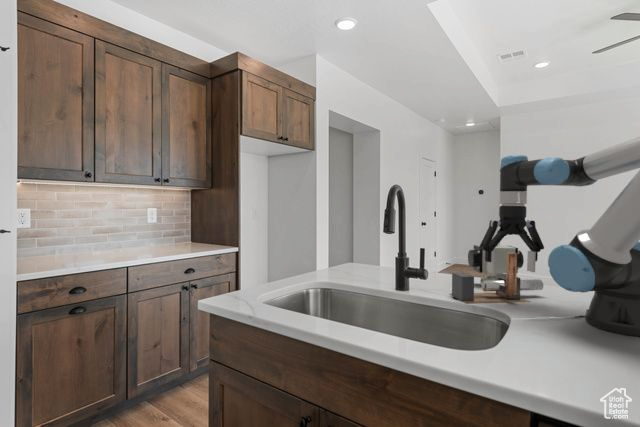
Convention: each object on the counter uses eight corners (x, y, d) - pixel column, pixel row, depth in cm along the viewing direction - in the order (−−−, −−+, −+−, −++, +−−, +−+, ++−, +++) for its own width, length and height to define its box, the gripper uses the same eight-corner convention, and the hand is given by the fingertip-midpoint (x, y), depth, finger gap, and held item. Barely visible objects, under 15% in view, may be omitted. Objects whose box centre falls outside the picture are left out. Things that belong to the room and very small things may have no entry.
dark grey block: (473, 301, 113) (474, 276, 112) (462, 301, 112) (462, 276, 112) (463, 295, 120) (463, 272, 119) (451, 295, 119) (452, 272, 119)
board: (530, 304, 112) (531, 301, 112) (465, 306, 110) (465, 303, 110) (507, 294, 124) (507, 292, 124) (448, 295, 122) (448, 293, 122)
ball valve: (513, 285, 137) (513, 241, 137) (523, 291, 129) (524, 243, 128) (466, 284, 139) (466, 240, 138) (473, 289, 131) (474, 242, 130)
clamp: (520, 299, 114) (520, 278, 114) (508, 300, 114) (508, 278, 114) (506, 294, 121) (507, 273, 121) (495, 294, 121) (496, 274, 121)
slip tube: (535, 288, 120) (536, 249, 120) (558, 296, 110) (559, 253, 110) (480, 289, 118) (481, 249, 118) (499, 298, 108) (499, 254, 108)
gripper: (541, 205, 114) (539, 268, 115) (468, 204, 112) (467, 270, 113) (558, 205, 107) (556, 273, 108) (481, 205, 104) (480, 275, 105)
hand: (510, 271), depth 110 cm, fingers open, 13 cm apart
